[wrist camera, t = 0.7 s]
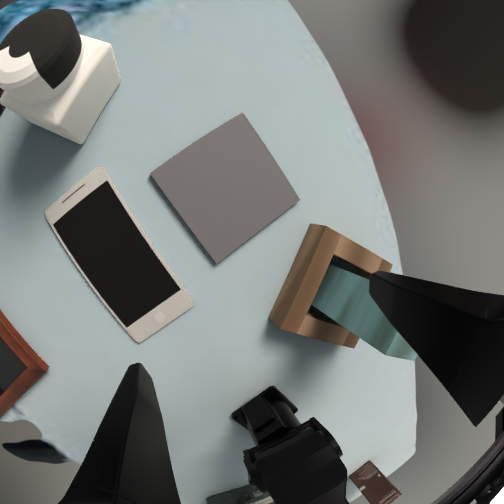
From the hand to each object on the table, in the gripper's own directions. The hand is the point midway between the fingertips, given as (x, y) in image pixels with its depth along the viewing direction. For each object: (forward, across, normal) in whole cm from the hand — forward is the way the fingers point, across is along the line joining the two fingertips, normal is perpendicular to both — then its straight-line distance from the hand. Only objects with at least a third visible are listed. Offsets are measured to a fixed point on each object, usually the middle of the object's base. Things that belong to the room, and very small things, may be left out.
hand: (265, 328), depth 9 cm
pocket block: (+15, -11, +12) cm, 22 cm away
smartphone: (+17, +8, +2) cm, 19 cm away
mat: (+18, -3, -1) cm, 18 cm away
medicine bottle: (+20, +8, -13) cm, 26 cm away
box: (+4, -14, +60) cm, 61 cm away
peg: (+15, -11, +12) cm, 22 cm away
